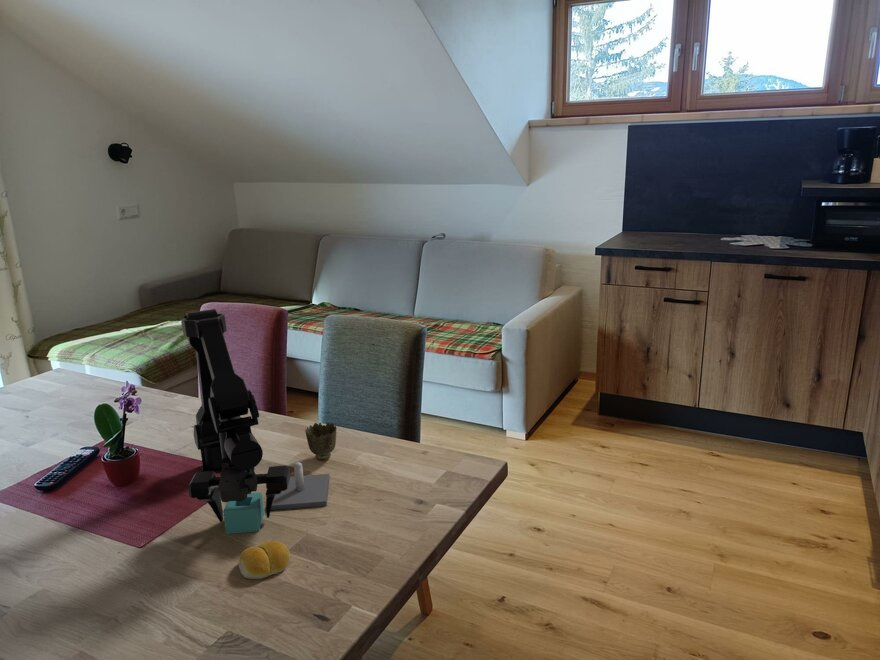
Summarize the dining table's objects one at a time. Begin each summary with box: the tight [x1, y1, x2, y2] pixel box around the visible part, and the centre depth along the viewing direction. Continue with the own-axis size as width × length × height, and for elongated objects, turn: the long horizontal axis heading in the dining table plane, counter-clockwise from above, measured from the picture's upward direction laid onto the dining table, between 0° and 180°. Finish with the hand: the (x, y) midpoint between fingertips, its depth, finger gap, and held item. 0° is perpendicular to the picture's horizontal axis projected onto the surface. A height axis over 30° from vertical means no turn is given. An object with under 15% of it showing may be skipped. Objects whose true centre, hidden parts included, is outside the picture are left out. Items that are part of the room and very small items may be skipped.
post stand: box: [271, 461, 330, 511], centre depth 142 cm, size 12×12×7 cm
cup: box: [304, 422, 338, 462], centre depth 158 cm, size 8×7×8 cm
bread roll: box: [237, 540, 291, 580], centre depth 119 cm, size 8×9×4 cm
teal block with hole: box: [223, 491, 265, 535], centre depth 132 cm, size 6×6×5 cm
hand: (245, 518), depth 132 cm, fingers open, 9 cm apart
